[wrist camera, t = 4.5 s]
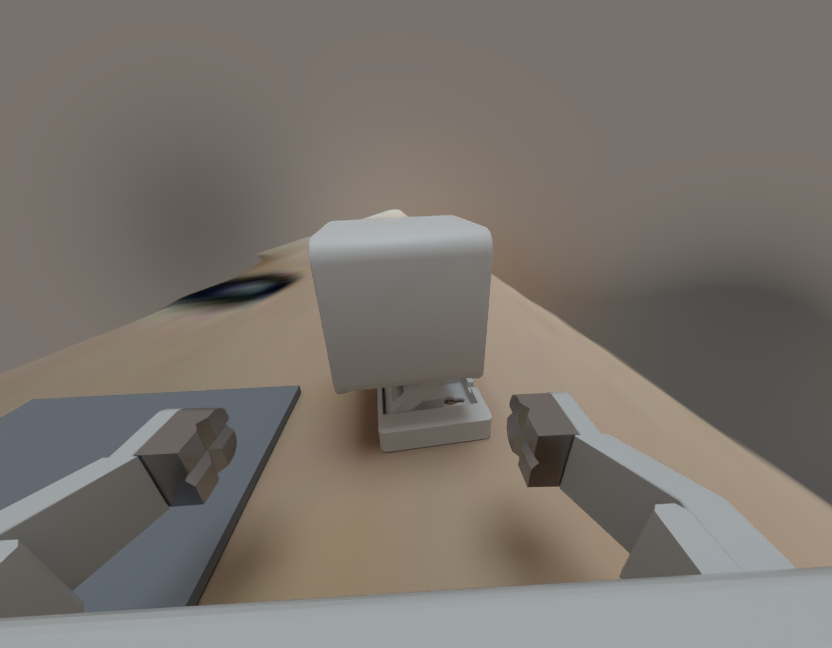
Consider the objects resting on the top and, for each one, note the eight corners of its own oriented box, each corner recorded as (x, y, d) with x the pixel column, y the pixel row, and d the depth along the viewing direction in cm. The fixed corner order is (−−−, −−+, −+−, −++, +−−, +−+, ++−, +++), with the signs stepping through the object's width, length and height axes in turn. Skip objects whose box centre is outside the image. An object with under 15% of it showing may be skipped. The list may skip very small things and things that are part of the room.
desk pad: (-94, 1192, 4) (-126, 1209, 4) (-1490, 1332, 3) (-1628, 1365, 3) (300, 392, 18) (299, 385, 18) (37, 405, 18) (32, 399, 18)
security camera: (354, 381, 19) (329, 219, 15) (459, 370, 20) (465, 212, 15) (347, 465, 13) (303, 241, 9) (495, 444, 14) (519, 228, 10)
